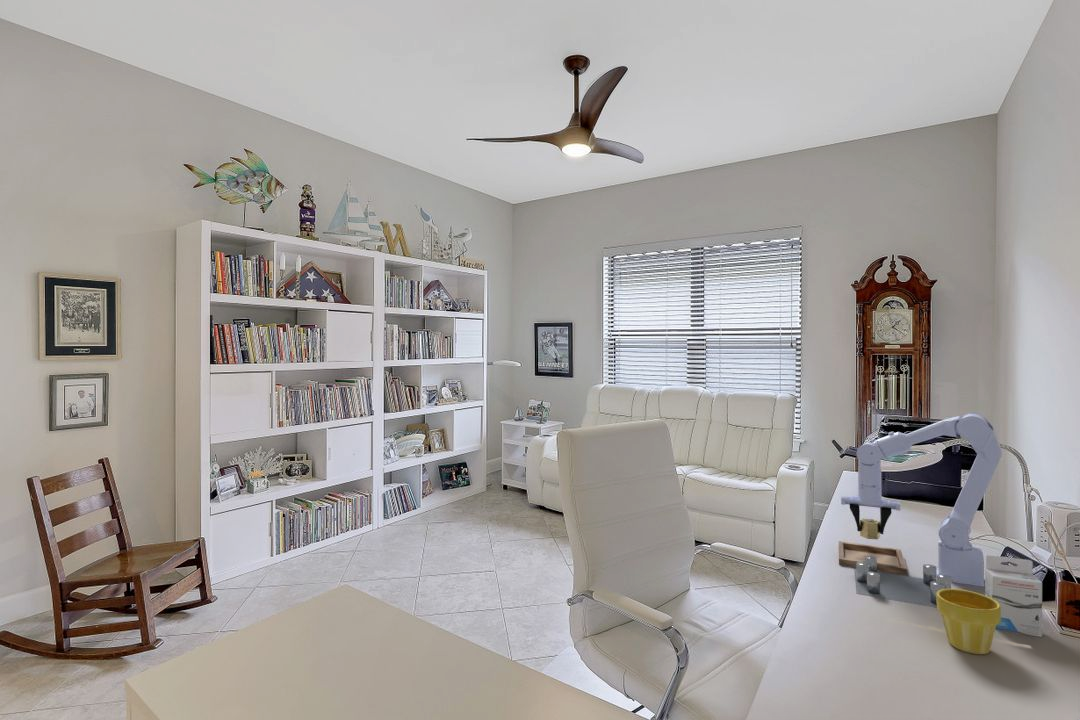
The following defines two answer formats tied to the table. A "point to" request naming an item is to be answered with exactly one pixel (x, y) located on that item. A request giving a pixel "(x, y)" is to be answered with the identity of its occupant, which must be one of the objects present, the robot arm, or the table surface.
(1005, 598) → the ink box
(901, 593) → the mat
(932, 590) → the spacers
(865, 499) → the robot arm
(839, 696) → the table surface
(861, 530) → the nut
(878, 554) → the tray
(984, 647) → the plant pot
